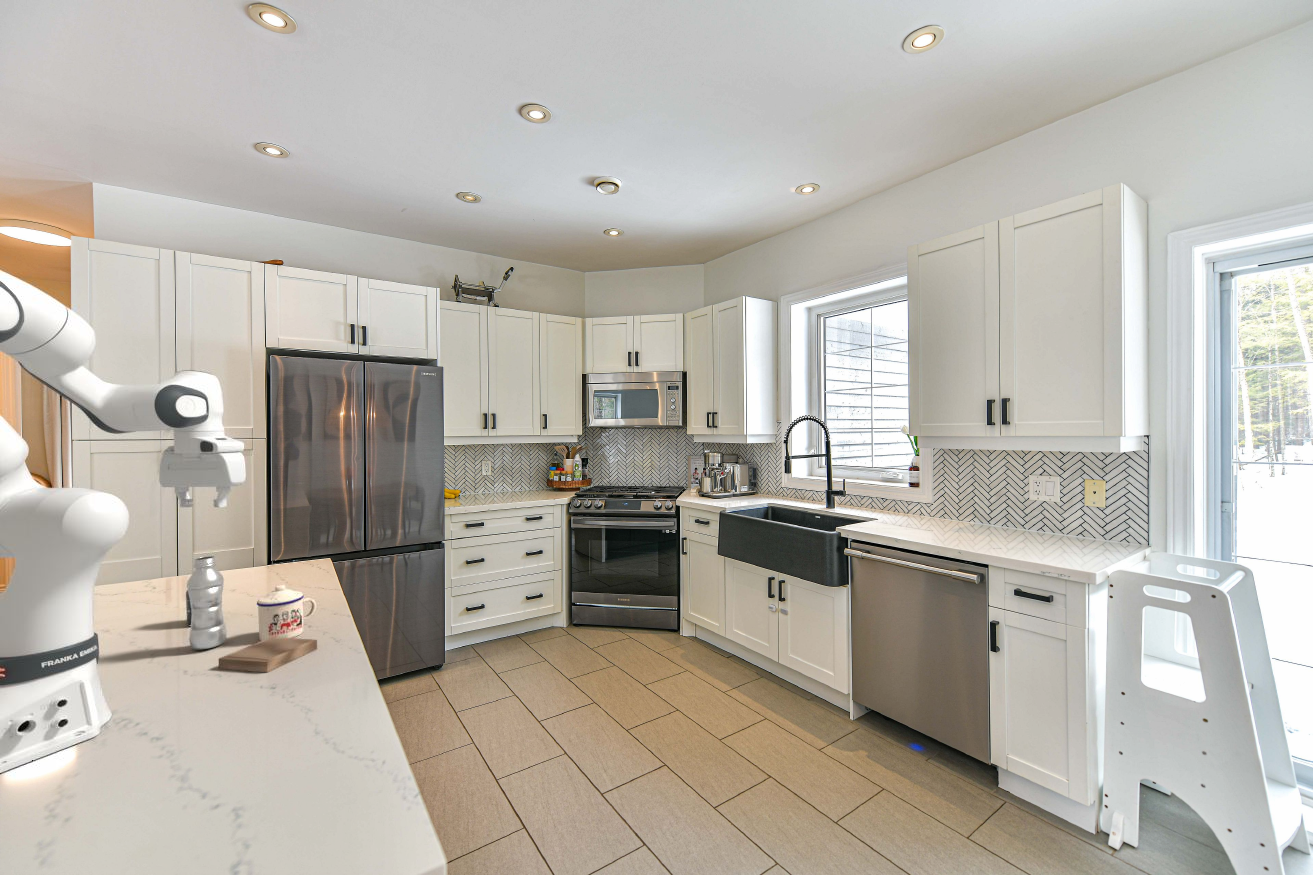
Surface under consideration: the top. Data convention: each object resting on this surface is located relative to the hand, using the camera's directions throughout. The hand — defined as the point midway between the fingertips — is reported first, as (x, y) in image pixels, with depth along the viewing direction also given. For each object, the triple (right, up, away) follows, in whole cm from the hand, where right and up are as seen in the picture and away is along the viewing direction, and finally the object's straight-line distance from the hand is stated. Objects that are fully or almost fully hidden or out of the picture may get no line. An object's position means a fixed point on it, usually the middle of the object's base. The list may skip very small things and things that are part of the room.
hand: (203, 507), depth 125 cm
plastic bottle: (+1, -32, 0) cm, 32 cm away
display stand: (+20, -31, -7) cm, 37 cm away
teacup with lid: (+14, -31, +8) cm, 35 cm away
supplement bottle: (-14, -32, +18) cm, 39 cm away
